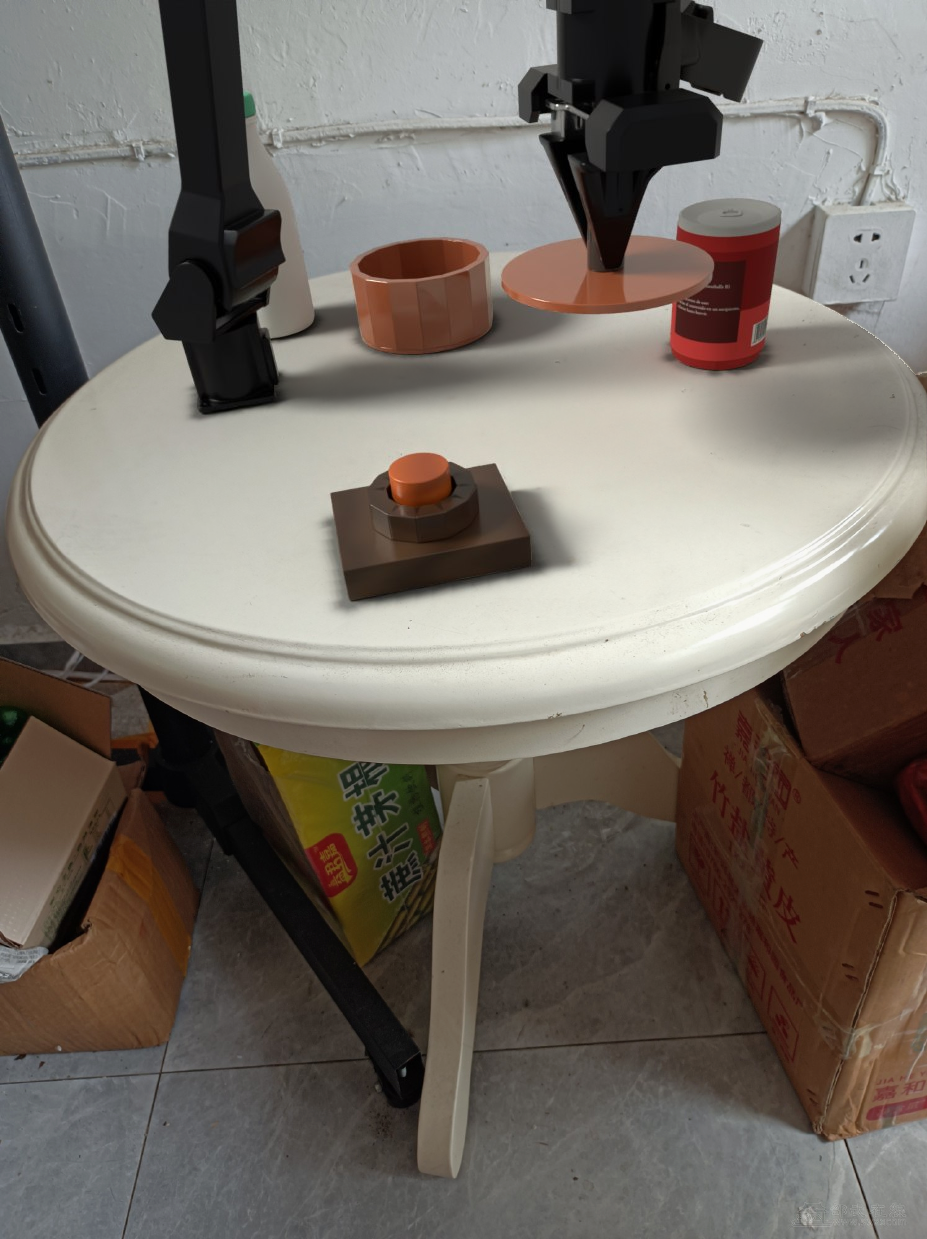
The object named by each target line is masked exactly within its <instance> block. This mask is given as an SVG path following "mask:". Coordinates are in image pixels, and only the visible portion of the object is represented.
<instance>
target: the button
mask: <svg viewBox="0 0 927 1239" xmlns="http://www.w3.org/2000/svg"><path fill="white" fill-rule="evenodd" d="M448 462H449V461H448V460H447V458H446V457H445V456H443V455H440V454H438V453H435V452H415V453H410V454H406V455H404V456H401V457H399V458H397V459H395V460H394V461H393V462H392V463H391V464H390V465H389V468H388V470H389V471H388V470H387V471H388V472H389V479H390V485H391V491H392V497H393V499H394V500H395V501H396V502H397V503H398V504H400V505H405V506H415V507H419V506H425V505H430V504H435V503H438V502H440V501H441V500H443V499H445V498H447V497H449V495H450V493H451V491H452V486H451V477H450V468H449V463H448Z"/></svg>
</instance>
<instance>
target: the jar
mask: <svg viewBox="0 0 927 1239" xmlns="http://www.w3.org/2000/svg"><path fill="white" fill-rule="evenodd" d="M348 268H349V269H348V270H349V274H350V281H351V286H352V287H351V288H352V293H353V299H354V305H355V311H356V316H357V323H358V328H359V332H360V336H361V340H362V342H363V343H365V345H367V346H368V347H370V348H372V349H374V350H377V351H380V352H384V353H389V354H398V355H422V354H423V355H424V354H433V353H440V352H444V351H450V350H454V349H456V348H457V349H458V348H460V347H463V346H466V345H469V344H471V343H473V342H476V341H477V340H479V339H481V338H483V337H484V336H485V335H486V334H487V333H488V332H489V331H490V330H491V328H492V326H493V319H494V306H493V292H492V291H493V290H492V276H491V262H490V252H489V250H488V249H487V248H486V247H485V245H484V244H483V243H480V242H477V241H473V240H471V239H467V238H459V237H450V236H442V237H441V236H437V237H419V238H412V239H405V240H399V241H394V242H390V243H386V244H384V245H380V246H375V247H373V248H371V249H368V250H367V251H365V252H362V253H361V254H358V255H356V256H355V258H354V259H353V260H352V261H351V262H350V263H349V264H348Z"/></svg>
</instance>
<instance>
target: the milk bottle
mask: <svg viewBox="0 0 927 1239" xmlns="http://www.w3.org/2000/svg"><path fill="white" fill-rule="evenodd" d="M243 95H244V108H245V121H246V134H247V147H248V160H249V174H250V181H251V186H252V188H253V190H254V192H255V193H256V195H257V197H258V198H259V200H260V202H261V204H262V205H263V207H264V209H275V210H279V211H280V214H281V218H282V224H281V239H280V240H281V246H282V251H283V253H284V256H285V259H286V261H285V262H284V263H283V264H281V265H279V270H278V275H277V278H276V280H275V281H274V282H273V284H272V285H271V288H270V300H269V305H267V306H266V307H262V308H261V309H259V310H258V311H257V314H258V318H259V323H260V327H261V328H264V327H266V328H267V329H268V330H269V334H270V338H271V339H276V338H282V337H287V336H291V335H295V334H297V333H300V332H301V331H304V330H306V329H308V328H309V327H310V326H311V325H312V324H313V322H314V320H315V315H316V314H315V309H314V303H313V297H312V292H311V288H310V282H309V277H308V272H307V268H306V262H305V257H304V252H303V248H302V243H301V237H300V234H299V229H298V223H297V218H296V214H295V210H294V206H293V202H292V198H291V195H290V192H289V188H288V186H287V184H286V181H285V178H284V177H283V175H282V173H281V171H280V169H279V168H278V166H277V165H276V163H275V162H274V161H273V159H272V158H271V156H270V154H269V153H268V151H267V148H266V147H265V145H264V143H263V141H262V139H261V136H260V133H259V132H258V127H257V122H258V121H259V119H258V117H257V113H256V112H257V109H256V104H255V101H254V96H253V94H252V93H250V92H247V91H243Z"/></svg>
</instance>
